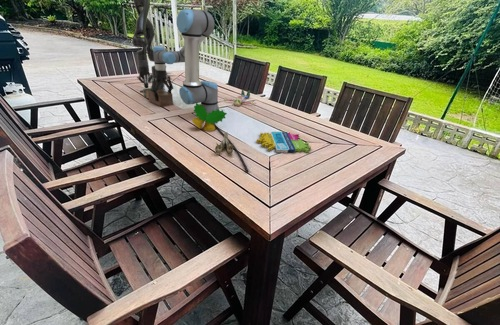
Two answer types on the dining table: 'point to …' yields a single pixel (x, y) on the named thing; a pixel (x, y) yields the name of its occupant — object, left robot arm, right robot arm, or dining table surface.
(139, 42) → the left robot arm
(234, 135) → the dining table surface
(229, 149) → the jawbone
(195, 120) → the ornament
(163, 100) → the cabinet
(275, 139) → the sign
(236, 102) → the toy
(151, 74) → the airplane
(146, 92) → the drawer
